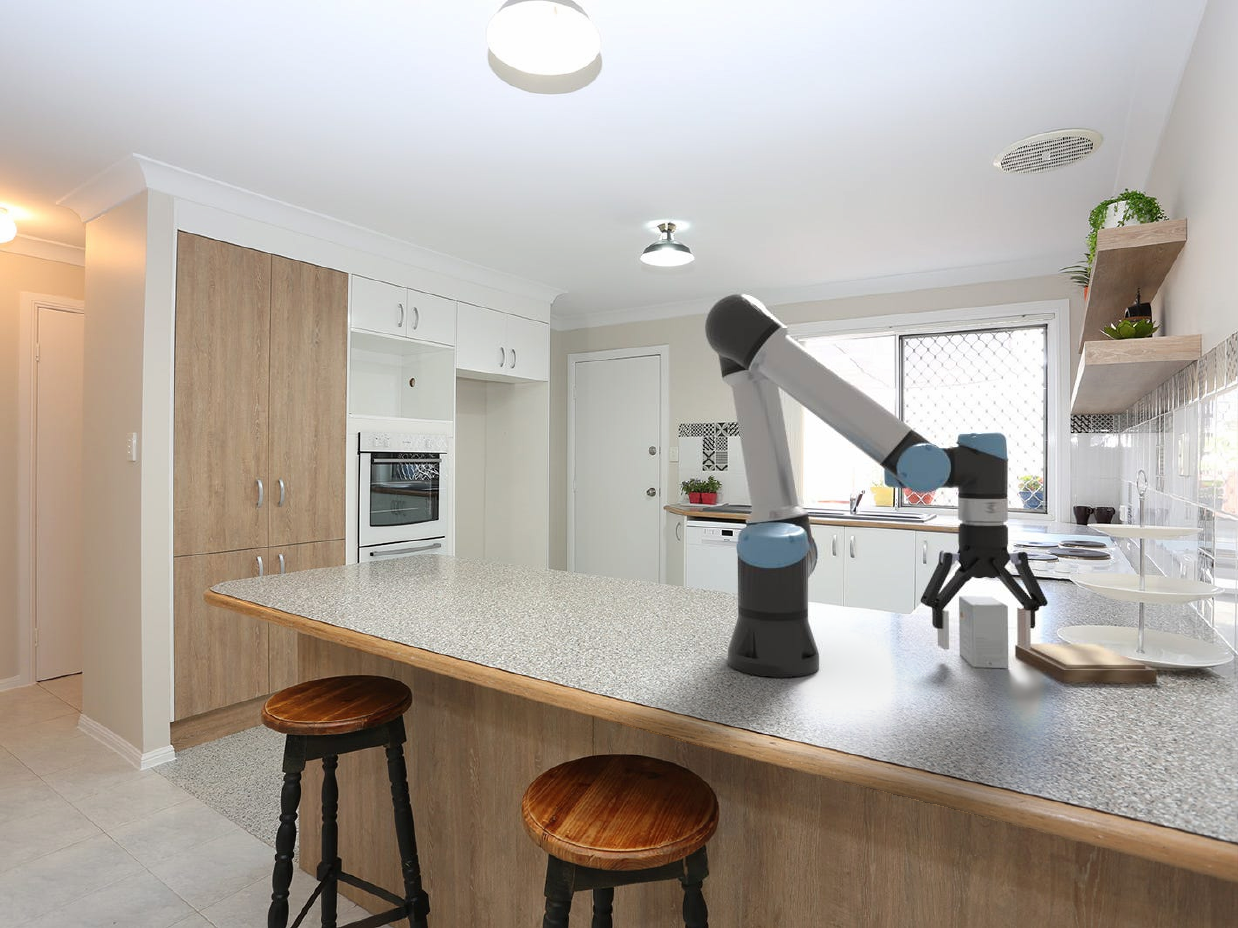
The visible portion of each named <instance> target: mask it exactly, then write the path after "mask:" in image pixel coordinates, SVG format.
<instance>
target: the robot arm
mask: <svg viewBox="0 0 1238 928" xmlns="http://www.w3.org/2000/svg"><path fill="white" fill-rule="evenodd" d="M705 319H706V320H705V324H704V325H705V326H704V327H705V328H704V329H705V336H706V339H707V341H708V344H709V346H710V348H711V349H712V350H713V351H714V352H715V353H716V354H717V355H718V361H719V365H720V372H721V377H722V378H721V379H722V381H723V382H724V383H726V384H727V385H728V386H730V388H731V391H732V395H733V402H734V407H735V415H736V420H737V425H738V426H737V427H738V432H739V433H738V434H739V439H740V444H741V445H740V446H741V450H742V451H741V452H742V456H743V463H744V469H745V476H746V481H747V487H748V494H749V500H750V504H751V512H750V514H749V516H748V517H747V518H746V519H745V526H744V527H742V529H741V530H740V531H739V532H738V535H737V536H738V537H737V544H736V554H737V606H738V607H737V618H736V619H737V620H736V623H735V626H734V629H733V632H732V636H731V638H730V640H729V641H730V642H729V644H728V648H727V663H728V665H729V666H730V667H731V668H732V669H735V670H737V671H739V672H742V673H745V674H750V675H752V676H753V675H754V676H759V677H760V676H761V677H766V676H770V677H769V678H793V677H792V676H797V677H802V676H808V675H810V674H813V672H814V673H815V672H817V671H819V669H820V652H819V649H818V646H817V643H816V641H815V636H814V635H813V632H812V629H811V625H810V622H809V578H810V576H811V575H812V574H813V572H814V571H815V568H816V567H817V563H818V561H817V560H818V557H819V555H818V553H819V552H818V546H817V543H816V541H815V539H814V538H813V535H812V534H813V533H812V529H811V528H812V527H811V523H810V518H809V512H808V511H807V510H806V509H805V508H803V507H802V506H801V505H800V504H799V502H798V497H797V490H796V484H795V479H794V472H793V467H792V465H793V464H792V460H791V454H790V447H789V442H788V436H787V435H788V434H787V430H786V425H785V424H786V423H785V419H784V412H783V406H782V401H781V400H782V399H781V396H780V395H781V393H780V389H781V390H782V391H783V392H785V393H786V394H787V395H788V396H790V397H791V398H793V399H794V400H795V401H797V402H798V403H799V404H800V405H802V407H804V408H805V409H807V410H808V411H809V412H811V413H812V414H814V415H815V417H817V418H818V419H820V420H821V421H823V423H825V424H826V425H828V426H829V427H830V428H832V429H833V430H834V431H835V432H837V433H838V434H839V435H840V436H841V437H843V438H845V440H846V441H848V442H849V443H851V444H852V445H854V447H856V448H857V449H859V450H860V451H861V452H862V453H863V454H865V455H866V456H867V457H869V458H870V459H871V460H873V461H874V462H876V464H878V465H880V466H881V467H882V468H883V469H884V470H883V472H884V473H883V476H884V478H883V479H884V484H885V486H886V487H888V488H897V489H901V490H903V489H909V490H910V491H911V492H914V493H919V494H927V493H928V494H929V493H932V492H935V491H937V490H938V489H942V488H944V489H953V488H955V489H957V492H958V493H957V498H958V500H957V503H958V504H957V515H958V516H957V519H958V521H960V522H961V523H959V525H958V526H957V527H958V529H957V531H958V533H957V535H958V539H957V541H958V550H957V552H949V551H946V550H941V551H940V552H939V553H938V554H939V556H938V563H937V566H936V567H935V569H934V571H933V574H932V576H931V577H930V580H929V581H928V583H927V585H926V588H925V589H924V591H923V593H922V595H921V598H920V603H921V604H923V605H924V606H927V607H929V608H931V614H932V615H931V618H932V621H931V622H932V623H931V624H932V627H933V628H935V629H937V646H938V647H940V648H941V649H942V650H950V629H949V628H950V621H949V620H950V619H949V618H950V611H949V610H947V609H945V608H946V607H947V606H948V604H949V603H950V602H951V601H952V600H953V599H954V597H955V596H956V595H957V594H958V593H959V591H960V590H961V589H962V588H963V586H964V585H965V584H966V583H967V582H969V581H971V579H972V578H974V579H984V578H988V579H996V578H997V579H998V580H1000V581H1001V582H1002V584H1003V585H1004V586H1005V588H1006V589H1007V590H1009V592H1010V593H1011V594H1012V595H1013V596H1014V598H1015V599H1017V601H1018V602H1019V603H1020V604H1021V606H1022V607H1017V608H1016V609H1017V610H1016V611H1017V613H1016V615H1017V617H1016V619H1017V620H1016V621H1017V624H1016V625H1017V626H1016V627H1017V630H1016V631H1017V637H1016V638H1017V643H1016V645H1018V646H1020V647H1022V648H1024V649H1031V644H1032V643H1031V641H1032V640H1031V638H1032V637H1031V636H1032V635H1031V633H1032V632H1031V631H1032V630H1031V629H1035V628H1036V612H1039V610H1040V607H1046V606H1047V605H1048V599H1047V597H1046V596H1045V594H1044V592H1043V590H1042V588H1041V586H1040V584H1039V582H1038V580H1037V578H1036V576H1035V575H1034V573H1033V570H1032V569H1031V567H1030V564H1029V557H1028V553H1027V552H1026V551H1024V550H1023V551H1021V550H1018V549H1015V550H1013V552H1011V551H1010V552H1009V551H1008V546H1009V527H1008V526H1007V524H1005V523H1006V522H1007V521H1009V517H1008V515H1009V513H1008V512H1009V509H1008V507H1009V505H1008V504H1009V503H1008V501H1009V499H1008V497H1009V496H1008V493H1009V491H1008V479H1009V478H1008V474H1009V473H1008V471H1009V470H1008V469H1009V467H1008V466H1009V458H1008V448H1007V438H1006V436H1005V434H1004V433H1001V432H991V431H989V432H988V431H986V432H983V431H982V432H962V433H960V434H958V436H957V441H956V443H952V444H946V445H945V444H933V443H932V442H930V441H929V440H928V439H926V438H925V437H923V435H921V434H920V433H918V432H917V431H915V430H914V429H912V427H911V426H909V425H908V424H906V423H905V422H903V421H902V420H901V419H900V418H898V417H897V416H895V415H894V414H893V413H891V412H890V410H888V409H886V408H885V407H884V406H882V405H881V404H880V403H878V402H877V401H875V400H874V399H873V398H871V396H869V395H867V393H865V392H864V391H862V390H861V389H859V388H858V387H857V386H856V385H854V384H853V383H852V382H851V381H849V380H847V378H845V377H843V376H842V375H841V374H839V373H838V372H837V371H836V370H834V369H833V368H832V367H830V366H829V365H828V364H826V363H825V362H824V361H822V360H821V359H819V358H818V357H817V356H815V355H814V354H813V353H811V352H810V351H809V350H807V349H806V348H805V347H803V345H801V344H800V343H798V342H797V341H795V340H794V339H792V338H791V337H790V336H789V333H788V327H787V326H785V324H783V323H782V322H781V321H779V320H778V319H777V318H776V317H775V316H774V315H773V314H772V313H771V312H769V311H768V309H766V306H765V305H764V304H763V303H762V302H761V301H760V300H758V299H756V298H755V297H753V296H751V295H747V294H742V293H741V294H740V293H737V294H736V293H735V294H731V295H727V296H725V297H723V298H721V299H719V300H718V301H717V302H716V303H715V304H714V305H713V306H712V307H711V308H710V309H709V312H708V313H707V317H706V318H705ZM956 561H957V562H958V563H959V564H960V565H959V566H958V568H957V569H956V570H955V573H954V574H953V576H952V577H951V579H950V580H949V581H947V583H946V584H945V585H944V583H945V581H946V579H947V577H948V575H949V573H950V571H951V568H952V566H953V565H955V564H956ZM1009 562H1011V564H1013V565H1014V567H1015V569H1016V571H1017V573H1018V575H1019V577H1020V578H1021V581H1022V584H1023V585H1024V587H1025V589H1026V591H1027V592H1028V593H1027V592H1026V591H1025V590H1024V589H1023V587H1021V586H1020V584H1019V583H1018V582H1017V580H1016V579H1015V578H1014V577H1013V575H1012V573H1010V571H1009V570H1008V568H1007V567H1006V566H1007V565H1008V563H1009ZM943 585H944V587H943ZM942 587H943V588H942ZM816 670H817V671H816ZM771 676H772V677H771ZM790 676H791V677H790Z"/></svg>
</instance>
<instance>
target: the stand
mask: <svg viewBox="0 0 1238 928" xmlns="http://www.w3.org/2000/svg"><path fill="white" fill-rule="evenodd" d="M1014 646H1015V647H1014V649H1015V650H1014V651H1015V653H1014V656H1015V657H1016V658H1018V659H1019V660H1021V661H1023V662H1025V663H1026V664H1028V665H1030V666H1032V667H1034V668H1036V669H1037V670H1040V671H1042V672H1043V673H1044V674H1047V675H1048V676H1051V677H1053V678H1054V679H1056V680H1058V681H1060V682H1062V683H1065V684H1066V683H1067V684H1069V683H1072V684H1076V683H1079V684H1083V683H1084V684H1085V683H1086V684H1099V683H1100V684H1102V683H1103V684H1157V677H1158V675H1157V674H1158V673H1157V670H1158V669H1155V668H1153V667H1150V666H1148V665H1146V664H1144V663H1142V662H1139V661H1137V660H1135V659H1131V658H1129V657H1128V656H1125V655H1123V654H1121V653H1118V652H1116V651H1113V650H1111V649H1108V648H1106V647H1103V646H1101V645H1098V644H1096V643H1031V649H1024V648H1022V647H1020V646H1018V645H1017V644H1015V645H1014Z"/></svg>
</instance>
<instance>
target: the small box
mask: <svg viewBox="0 0 1238 928" xmlns="http://www.w3.org/2000/svg"><path fill="white" fill-rule="evenodd" d="M1008 612H1009V606H1008V605H1007V604H1004V603H1003V602H1001V601H1000V600H998V599H996V598H995V597H993V596H977V595H975V596H974V595H973V596H972V595H959V596H958V616H959V617H958V620H959V621H958V623H959V627H958V630H959V634H958V635H959V655H960V656H961V657H962V658H963V659H964V660H965V661H966V662H967V663H968V664H969V665H971V667H973V668H986V669H987V668H989V669H1009V613H1008Z"/></svg>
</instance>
